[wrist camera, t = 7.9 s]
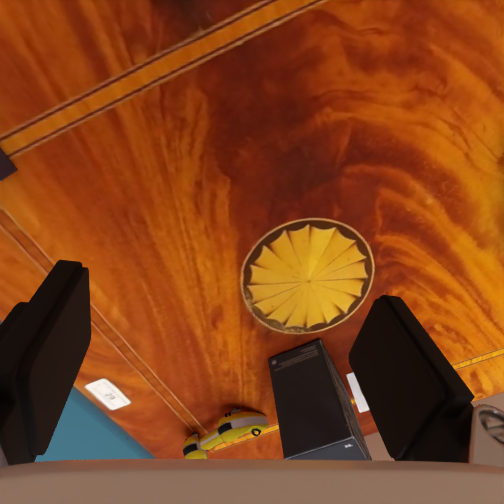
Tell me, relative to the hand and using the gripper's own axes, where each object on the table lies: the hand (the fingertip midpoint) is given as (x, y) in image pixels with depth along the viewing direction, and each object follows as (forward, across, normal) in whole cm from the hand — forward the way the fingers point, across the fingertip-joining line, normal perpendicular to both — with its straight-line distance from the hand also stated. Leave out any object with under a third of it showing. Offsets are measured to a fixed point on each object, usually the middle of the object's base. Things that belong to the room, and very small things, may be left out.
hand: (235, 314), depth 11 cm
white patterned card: (+16, -23, +23) cm, 36 cm away
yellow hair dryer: (+16, -5, +32) cm, 36 cm away
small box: (+16, -13, +22) cm, 31 cm away
